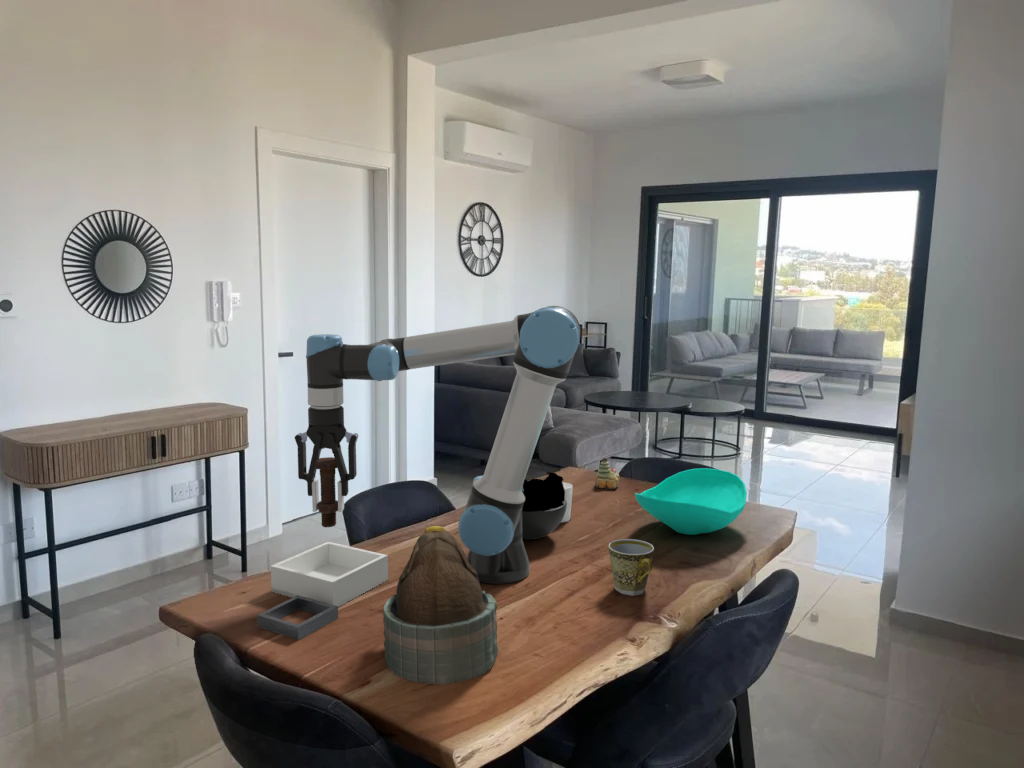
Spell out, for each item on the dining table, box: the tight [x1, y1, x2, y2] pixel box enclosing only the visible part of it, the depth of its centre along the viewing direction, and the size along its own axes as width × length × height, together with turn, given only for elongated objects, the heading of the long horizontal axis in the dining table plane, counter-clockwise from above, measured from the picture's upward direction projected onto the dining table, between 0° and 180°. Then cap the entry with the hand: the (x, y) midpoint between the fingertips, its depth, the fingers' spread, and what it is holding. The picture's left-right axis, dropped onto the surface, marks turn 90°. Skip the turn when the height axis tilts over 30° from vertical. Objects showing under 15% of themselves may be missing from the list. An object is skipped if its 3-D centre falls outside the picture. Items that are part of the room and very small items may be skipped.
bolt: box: [316, 456, 338, 528], centre depth 168 cm, size 6×5×15 cm
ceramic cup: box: [608, 538, 655, 597], centre depth 168 cm, size 13×10×10 cm
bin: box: [270, 541, 389, 608], centre depth 171 cm, size 18×18×6 cm
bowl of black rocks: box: [522, 472, 567, 540], centre depth 203 cm, size 20×20×19 cm
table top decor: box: [634, 467, 748, 536], centre depth 209 cm, size 40×28×13 cm
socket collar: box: [256, 595, 339, 641], centre depth 153 cm, size 11×11×2 cm
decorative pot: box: [382, 525, 499, 685], centre depth 141 cm, size 23×25×22 cm
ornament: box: [594, 457, 620, 490], centre depth 253 cm, size 8×6×10 cm
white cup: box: [560, 481, 573, 524], centre depth 219 cm, size 8×8×10 cm
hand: (328, 509), depth 169 cm, fingers closed on bolt, 5 cm apart
